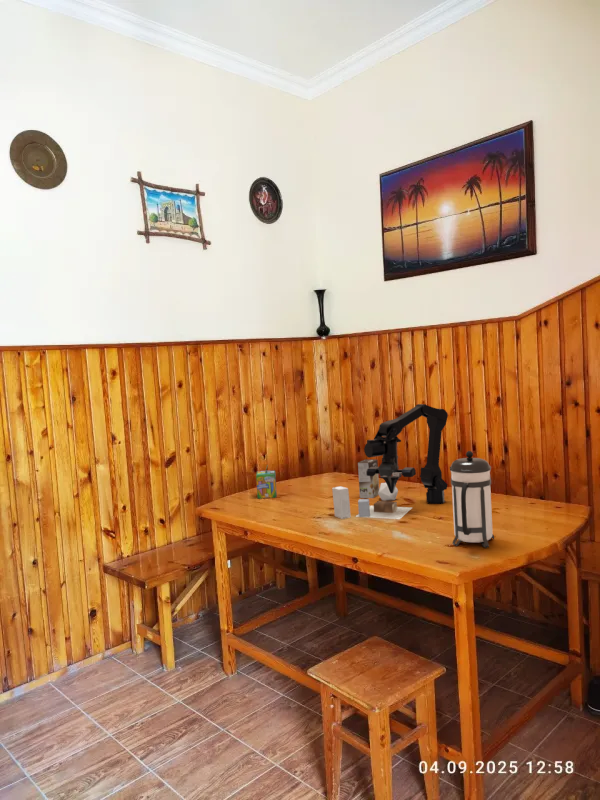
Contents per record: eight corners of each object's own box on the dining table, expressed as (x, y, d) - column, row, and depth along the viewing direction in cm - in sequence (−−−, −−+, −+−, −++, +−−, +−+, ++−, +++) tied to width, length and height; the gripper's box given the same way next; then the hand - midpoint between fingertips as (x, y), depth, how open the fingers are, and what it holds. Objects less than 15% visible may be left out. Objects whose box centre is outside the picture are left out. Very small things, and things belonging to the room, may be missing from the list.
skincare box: (351, 518, 235) (349, 488, 234) (341, 520, 233) (339, 489, 232) (343, 515, 240) (341, 485, 239) (333, 517, 238) (331, 487, 238)
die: (393, 505, 254) (403, 485, 257) (375, 495, 255) (384, 475, 258) (390, 507, 262) (400, 488, 265) (373, 498, 263) (382, 479, 266)
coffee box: (372, 498, 266) (370, 462, 265) (359, 498, 269) (357, 462, 268) (379, 494, 274) (377, 459, 273) (366, 493, 277) (364, 459, 276)
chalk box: (257, 494, 289) (255, 464, 288) (276, 493, 289) (274, 463, 288) (257, 499, 280) (254, 467, 279) (276, 497, 280) (274, 466, 279)
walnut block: (396, 501, 241) (377, 501, 245) (392, 504, 237) (373, 503, 240) (397, 509, 242) (378, 508, 245) (393, 512, 237) (374, 511, 241)
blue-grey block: (370, 514, 238) (369, 499, 237) (369, 516, 234) (368, 501, 233) (359, 514, 238) (359, 499, 238) (358, 516, 234) (358, 501, 234)
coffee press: (439, 539, 201) (434, 450, 200) (482, 533, 205) (478, 446, 203) (464, 554, 185) (460, 457, 183) (511, 547, 188) (507, 452, 186)
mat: (412, 509, 243) (412, 507, 243) (399, 520, 227) (399, 519, 227) (370, 506, 251) (370, 505, 251) (355, 518, 235) (355, 516, 235)
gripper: (360, 457, 235) (362, 496, 236) (407, 458, 227) (409, 498, 228) (370, 452, 245) (372, 490, 246) (415, 453, 237) (417, 492, 238)
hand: (391, 493), depth 239 cm, fingers closed
